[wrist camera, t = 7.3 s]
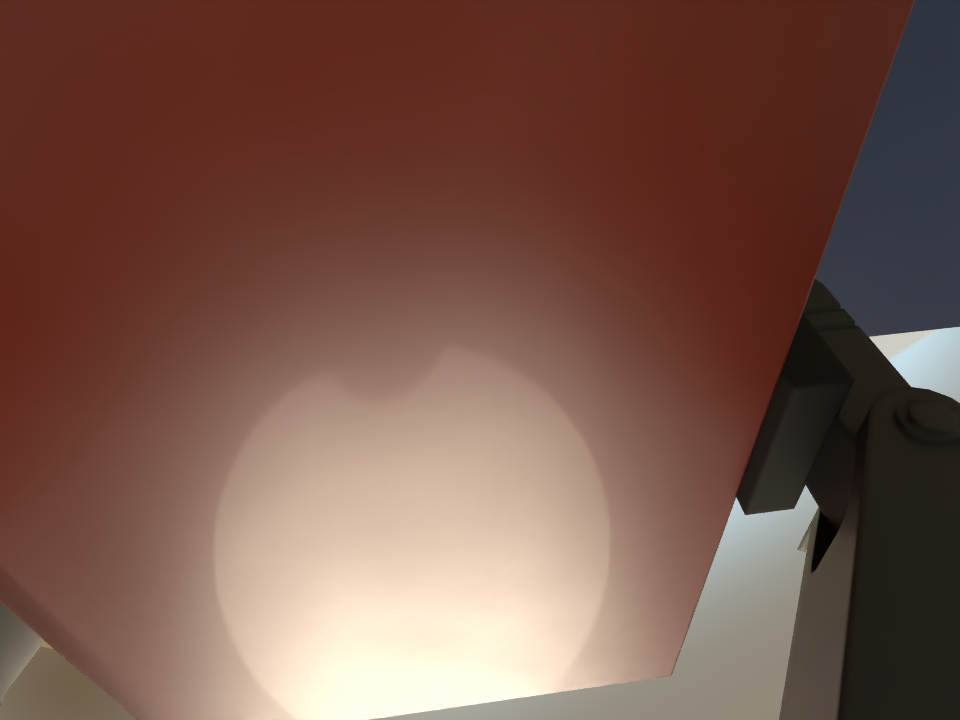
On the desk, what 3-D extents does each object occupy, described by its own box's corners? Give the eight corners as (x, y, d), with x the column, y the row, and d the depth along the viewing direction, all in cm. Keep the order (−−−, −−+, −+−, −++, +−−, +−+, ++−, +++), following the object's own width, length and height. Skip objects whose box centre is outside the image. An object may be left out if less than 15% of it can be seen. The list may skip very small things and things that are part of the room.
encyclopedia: (622, 288, 33) (654, 360, 29) (706, -391, 18) (799, -434, 14) (923, 256, 34) (994, 323, 30) (1260, -425, 18) (1502, -474, 14)
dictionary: (221, 497, 19) (167, 749, 14) (-211, -290, 8) (-1136, -374, 3) (599, 450, 19) (671, 676, 14) (687, -350, 8) (1102, -500, 4)
